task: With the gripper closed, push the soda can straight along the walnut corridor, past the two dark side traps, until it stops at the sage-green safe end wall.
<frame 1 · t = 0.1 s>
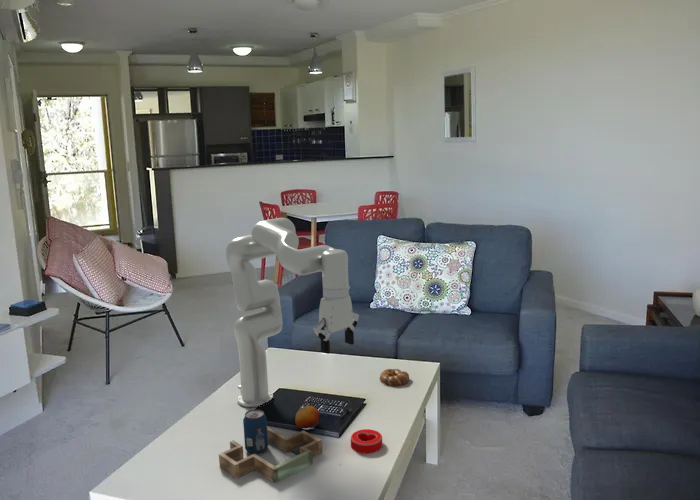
hand: (337, 347, 183), 31 cm above the table, tool pointing down, fingers open, 9 cm apart
soda can: (256, 450, 188), on the table
decorative ornament: (366, 446, 189), on the table
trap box: (270, 458, 183), on the table
fruit: (307, 427, 201), on the table
pretzel: (393, 381, 235), on the table
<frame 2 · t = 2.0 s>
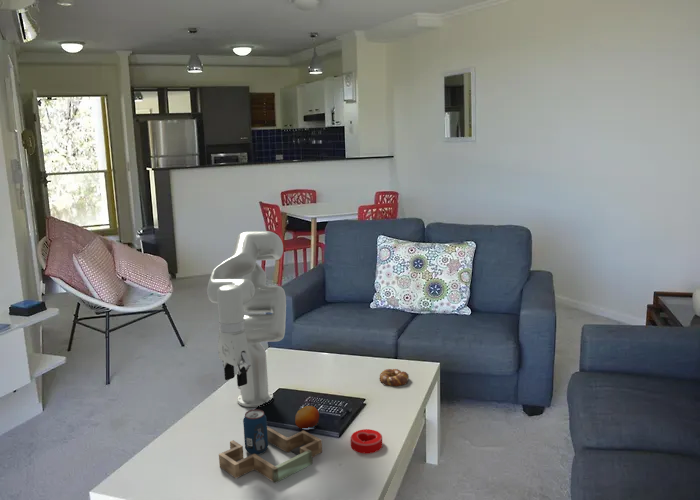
hand: (236, 381, 190), 20 cm above the table, tool pointing down, fingers open, 6 cm apart
nothing on the table moved.
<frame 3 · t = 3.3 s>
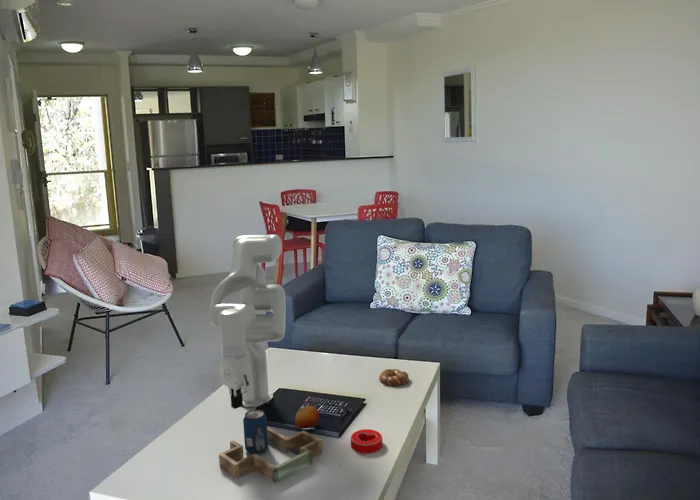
hand: (237, 406, 191), 12 cm above the table, tool pointing down, fingers closed
nothing on the table moved.
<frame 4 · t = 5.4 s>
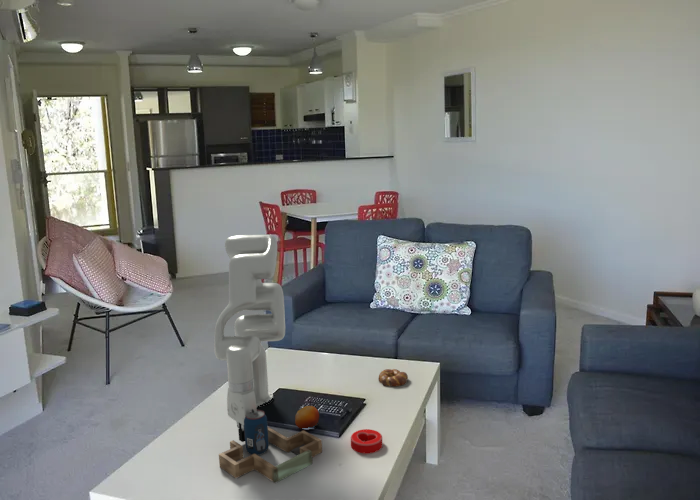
hand: (244, 439, 192), 1 cm above the table, tool pointing down, fingers closed
soda can: (257, 451, 187), on the table, touching gripper
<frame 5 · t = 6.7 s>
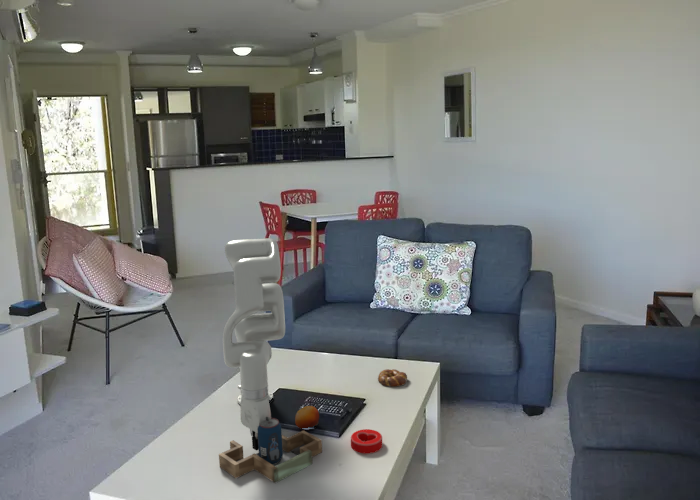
hand: (258, 447, 186), 1 cm above the table, tool pointing down, fingers closed
soda can: (271, 460, 182), on the table, touching gripper
everything else where it was.
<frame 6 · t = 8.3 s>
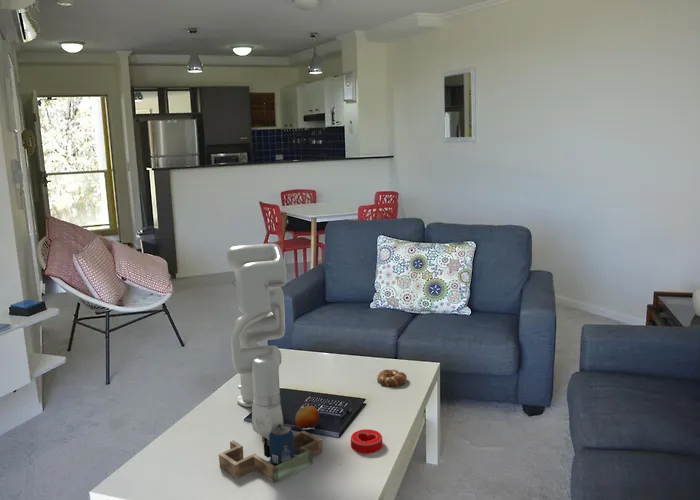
hand: (270, 454, 182), 1 cm above the table, tool pointing down, fingers closed
soda can: (283, 468, 178), on the table, touching gripper, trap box
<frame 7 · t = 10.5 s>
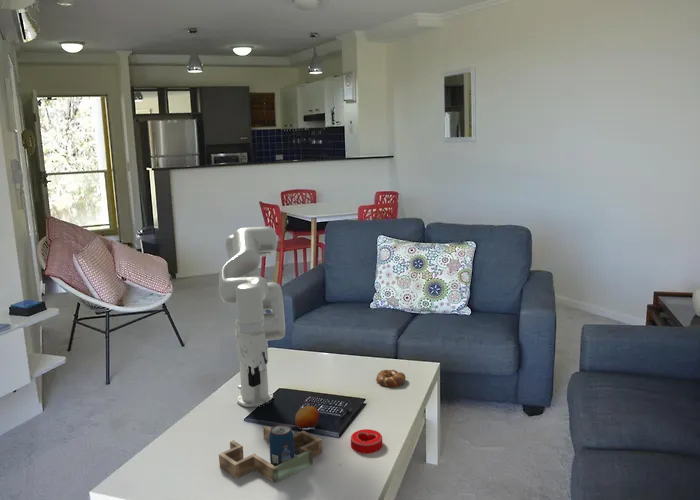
hand: (254, 384, 183), 21 cm above the table, tool pointing down, fingers closed
soda can: (283, 468, 178), on the table
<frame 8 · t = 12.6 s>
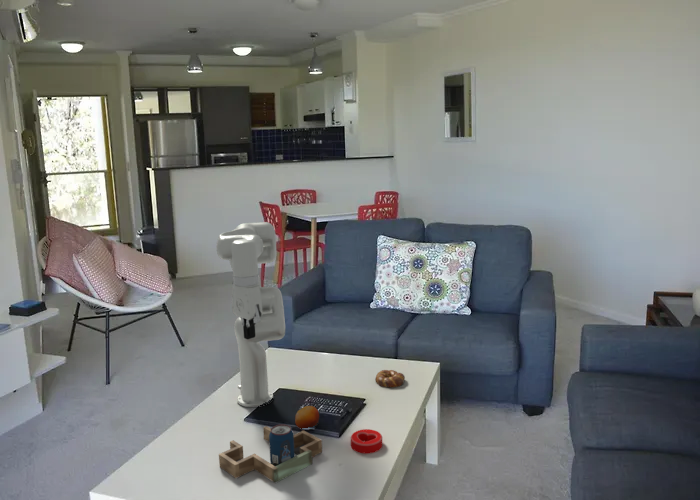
hand: (249, 337, 191), 32 cm above the table, tool pointing down, fingers closed
soda can: (283, 468, 178), on the table, touching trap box
at the end: soda can inside the target area on the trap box (0.4 cm from its centre), point 0.0 cm above the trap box's base; soda can tilted 0° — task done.
